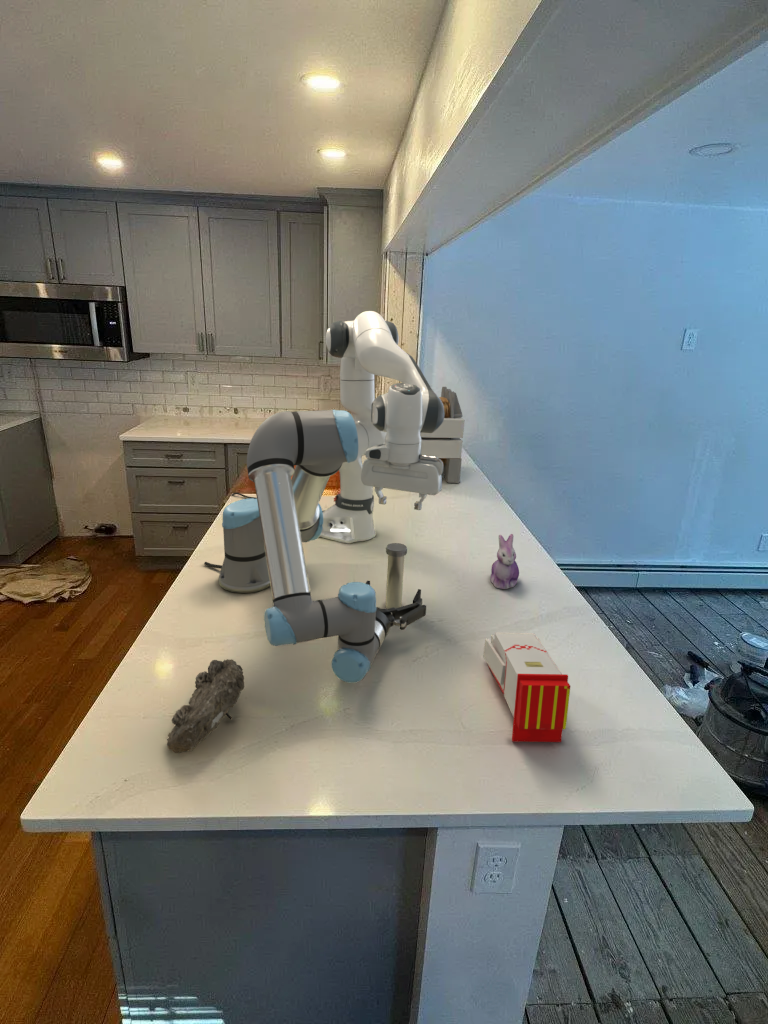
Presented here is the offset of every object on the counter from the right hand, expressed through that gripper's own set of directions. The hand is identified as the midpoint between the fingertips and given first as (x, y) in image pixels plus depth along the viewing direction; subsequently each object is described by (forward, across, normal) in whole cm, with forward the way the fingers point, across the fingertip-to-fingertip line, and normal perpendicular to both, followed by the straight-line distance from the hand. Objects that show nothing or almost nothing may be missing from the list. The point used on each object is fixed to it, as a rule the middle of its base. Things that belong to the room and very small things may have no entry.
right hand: (399, 506), depth 142 cm
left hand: (+22, 0, +3) cm, 22 cm away
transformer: (+27, +34, -127) cm, 135 cm away
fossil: (+28, +17, +55) cm, 64 cm away
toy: (+29, -36, +24) cm, 52 cm away
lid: (+11, 0, 0) cm, 11 cm away
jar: (+28, 0, 0) cm, 28 cm away
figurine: (+28, -24, -27) cm, 46 cm away
